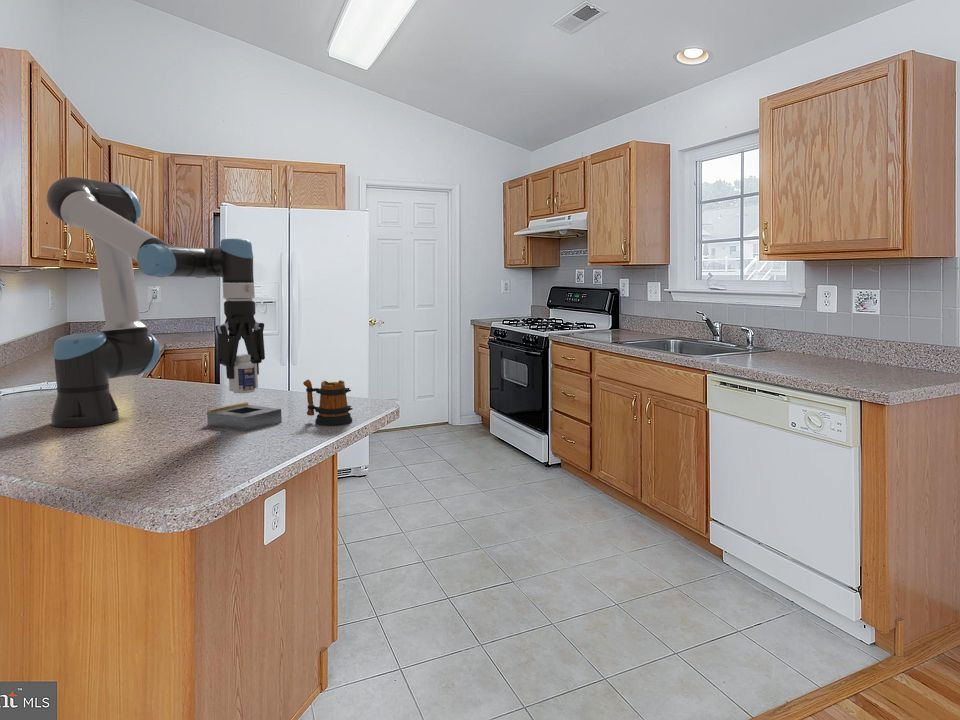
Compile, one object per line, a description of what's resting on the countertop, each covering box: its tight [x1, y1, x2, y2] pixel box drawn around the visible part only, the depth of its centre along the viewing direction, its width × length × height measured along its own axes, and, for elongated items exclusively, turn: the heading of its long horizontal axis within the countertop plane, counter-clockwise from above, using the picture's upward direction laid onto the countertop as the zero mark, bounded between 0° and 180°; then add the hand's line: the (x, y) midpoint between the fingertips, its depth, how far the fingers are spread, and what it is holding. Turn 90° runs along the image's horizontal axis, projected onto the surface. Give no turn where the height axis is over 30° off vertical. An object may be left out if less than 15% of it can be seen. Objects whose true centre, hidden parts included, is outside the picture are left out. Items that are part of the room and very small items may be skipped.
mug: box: [302, 379, 353, 427], centre depth 163 cm, size 13×10×12 cm
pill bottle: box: [232, 353, 256, 394], centre depth 160 cm, size 5×5×10 cm
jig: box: [206, 401, 283, 432], centre depth 162 cm, size 14×12×4 cm
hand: (243, 389), depth 161 cm, fingers closed on pill bottle, 5 cm apart
